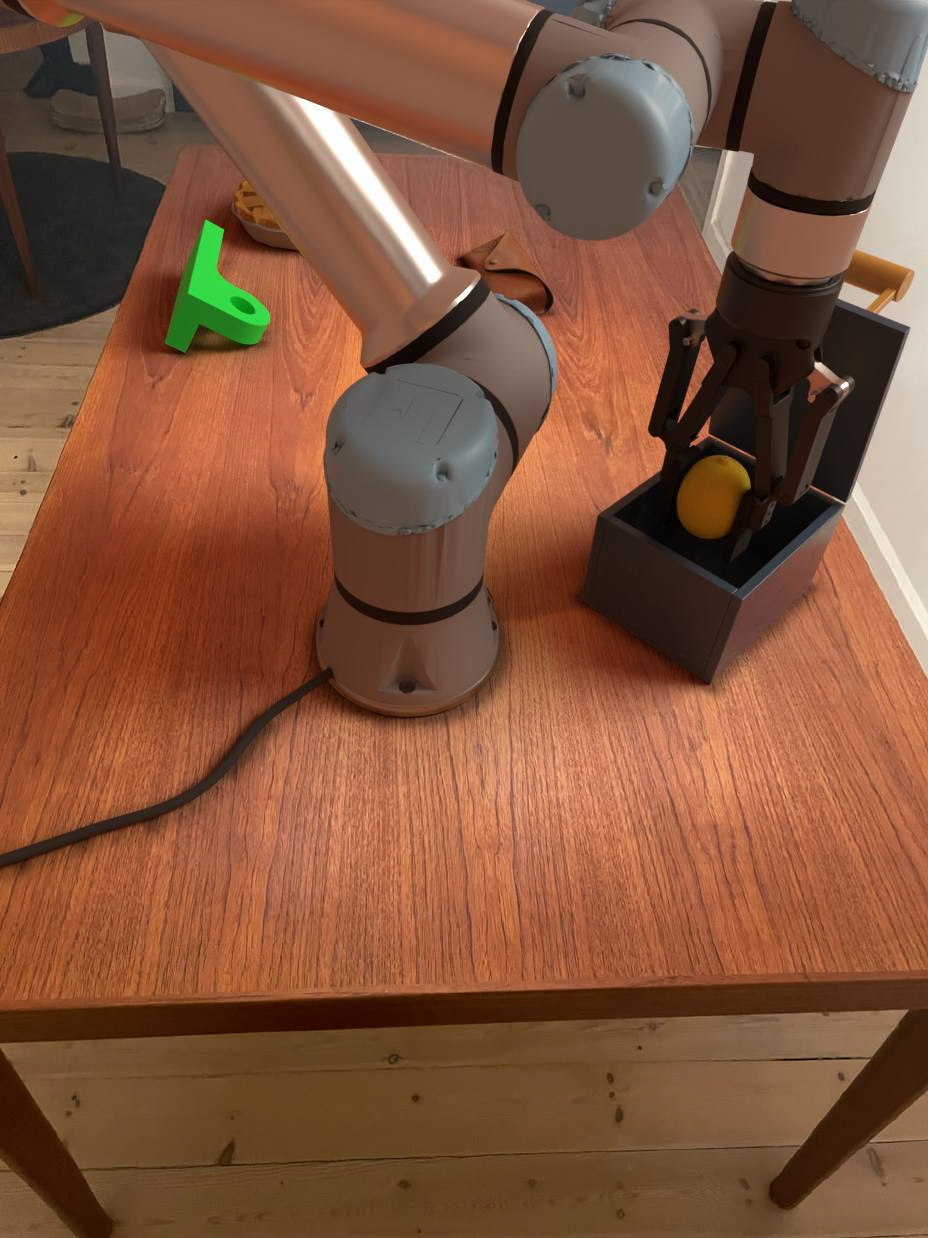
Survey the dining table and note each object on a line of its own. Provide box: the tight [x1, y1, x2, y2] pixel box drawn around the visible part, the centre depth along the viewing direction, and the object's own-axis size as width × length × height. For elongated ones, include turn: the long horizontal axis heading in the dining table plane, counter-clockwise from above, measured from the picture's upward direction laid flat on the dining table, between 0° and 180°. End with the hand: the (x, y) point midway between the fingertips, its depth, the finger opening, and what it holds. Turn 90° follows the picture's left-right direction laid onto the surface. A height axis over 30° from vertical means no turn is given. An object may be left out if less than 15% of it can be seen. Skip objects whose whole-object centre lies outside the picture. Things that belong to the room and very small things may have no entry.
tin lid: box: [707, 249, 915, 504], centre depth 74 cm, size 18×14×9 cm
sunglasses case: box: [459, 228, 555, 315], centre depth 123 cm, size 18×7×7 cm, turn 16°
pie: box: [230, 179, 299, 251], centre depth 132 cm, size 22×22×5 cm
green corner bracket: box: [164, 219, 271, 354], centre depth 113 cm, size 20×10×7 cm, turn 5°
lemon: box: [677, 455, 750, 539], centre depth 72 cm, size 6×6×8 cm
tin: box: [580, 435, 846, 685], centre depth 79 cm, size 17×14×10 cm
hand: (701, 534), depth 75 cm, fingers closed on lemon, 5 cm apart
